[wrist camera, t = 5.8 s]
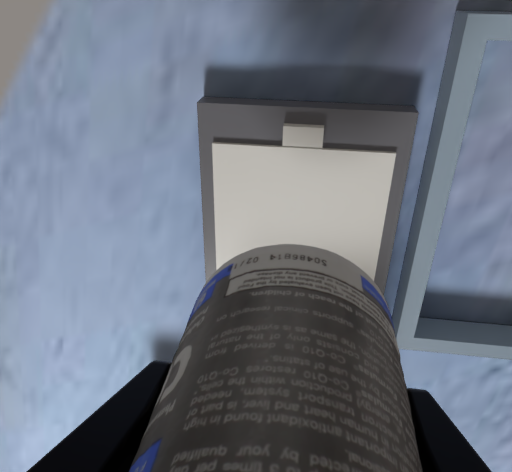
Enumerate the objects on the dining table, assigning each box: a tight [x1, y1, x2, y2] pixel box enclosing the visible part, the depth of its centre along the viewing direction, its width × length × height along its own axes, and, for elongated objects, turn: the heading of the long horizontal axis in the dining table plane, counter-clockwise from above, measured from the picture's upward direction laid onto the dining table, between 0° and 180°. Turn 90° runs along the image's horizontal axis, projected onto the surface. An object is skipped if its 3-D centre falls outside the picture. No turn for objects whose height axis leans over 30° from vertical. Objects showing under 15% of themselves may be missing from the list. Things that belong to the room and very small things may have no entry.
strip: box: [197, 97, 418, 296], centre depth 18 cm, size 6×18×1 cm, turn 179°
